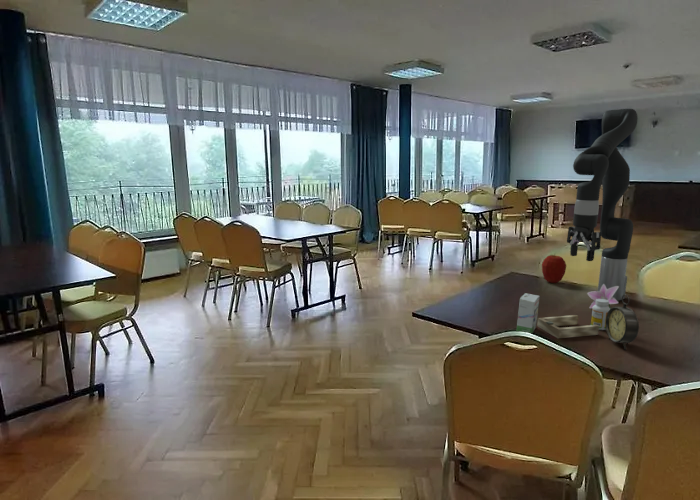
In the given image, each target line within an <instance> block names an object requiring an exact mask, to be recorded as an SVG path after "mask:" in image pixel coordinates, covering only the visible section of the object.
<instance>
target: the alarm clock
mask: <svg viewBox="0 0 700 500" xmlns="http://www.w3.org/2000/svg"><path fill="white" fill-rule="evenodd" d="M624 295H625V297H627V300H628V301H627V303H626V302H624V299H623V297H624ZM624 295H623V296H622V300H621V301H622V305H623V306H612V307H610V310H609V311H608V313H607V316H606V322H605V325H606V330H605V332H606V334H607V336H608V340H611V341H612V342H614V343H617V344H618V343H620V344H621V343H622V345H623V350H624V351H626V350H627V345H629V343H633V342H634V341H635V340H636V339H637V336H638V334H639V330H640V326H639V325H640V324H639V323H640V322H639V319H638V315H637V314H636V312H635V311H634V310H633V309H632V308H629V307H627V306H628V305H629V304H630V297H629V295H628V294H626V293H625V294H624Z"/></svg>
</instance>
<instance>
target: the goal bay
mask: <svg viewBox="0 0 700 500" xmlns="http://www.w3.org/2000/svg"><path fill="white" fill-rule="evenodd" d="M578 321H579V315H577V314H570V315H569V314H568V315H559V316H558V315H557V316H547V317H537V324H536V328H537V327H538V328H539V329H541V330H542V331H544V332H546V333H548V334H550V335H551V336H553V337H555V338H556V339H565V338H567V339H568V338H577V337H578V338H579V337H588V336H596V335H599V331H600V330H599V326H598V325H591V324H589V325H578ZM572 325H577V326H572ZM560 326H561V327H560ZM562 326H563V327H562ZM564 326H565V327H564ZM566 326H567V327H566ZM568 326H569V327H568Z"/></svg>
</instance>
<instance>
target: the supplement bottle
mask: <svg viewBox="0 0 700 500" xmlns="http://www.w3.org/2000/svg"><path fill="white" fill-rule="evenodd" d="M595 304H596V305H594V306H593V308H591V309H592V310H591V320H590V325H598V326H599V330H598V331H606V325H605V322H606V316H607V313H608V311H609V310H610V309H611V307H610V308H609V305H610V304H609V301H608V300H606V299H596V302H595Z"/></svg>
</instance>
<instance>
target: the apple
mask: <svg viewBox="0 0 700 500" xmlns="http://www.w3.org/2000/svg"><path fill="white" fill-rule="evenodd" d="M566 270H567V264H566V261H565V259H564V258H563V257H562V256H559V255H556V254H551V255H548V256H546V257H545V258H544V259H543V261H542V264H541V272H542V275H543V279H544V280H545V281H546V282H547V283H550V284H557V283H559V282H561V281H562V280H563V277H564V275H565V274H566Z"/></svg>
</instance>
